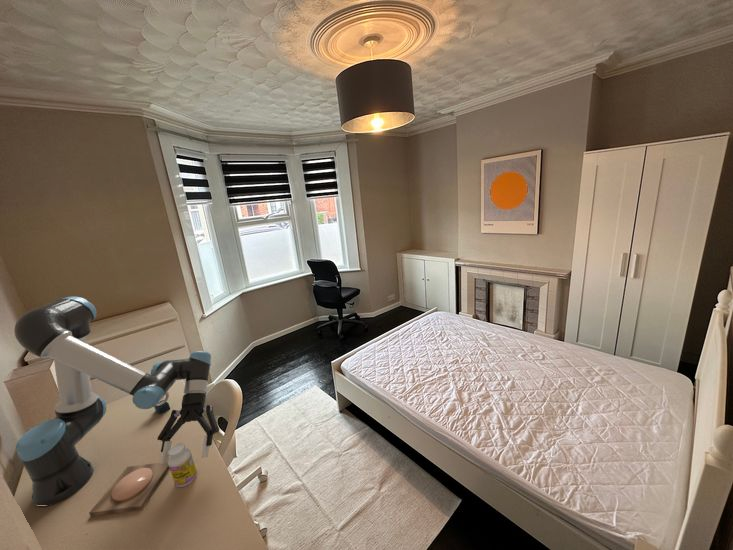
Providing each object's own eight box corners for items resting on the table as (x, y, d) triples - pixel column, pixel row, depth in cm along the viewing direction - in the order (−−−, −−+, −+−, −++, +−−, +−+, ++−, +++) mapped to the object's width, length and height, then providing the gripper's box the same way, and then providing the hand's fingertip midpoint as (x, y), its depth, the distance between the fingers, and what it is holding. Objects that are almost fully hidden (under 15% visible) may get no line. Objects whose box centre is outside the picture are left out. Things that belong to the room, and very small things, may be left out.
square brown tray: (90, 516, 91) (88, 512, 90) (128, 470, 106) (127, 466, 106) (142, 509, 91) (140, 505, 91) (172, 464, 107) (171, 461, 106)
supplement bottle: (172, 491, 96) (161, 460, 93) (179, 473, 102) (168, 444, 99) (194, 484, 98) (184, 453, 94) (200, 467, 104) (190, 438, 101)
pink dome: (103, 503, 93) (102, 501, 93) (129, 472, 104) (128, 470, 103) (138, 498, 93) (137, 496, 93) (160, 468, 104) (159, 465, 103)
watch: (174, 406, 139) (168, 386, 137) (155, 417, 133) (148, 396, 130) (170, 402, 143) (163, 383, 140) (151, 412, 137) (143, 392, 134)
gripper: (232, 390, 113) (226, 454, 102) (167, 399, 112) (154, 464, 102) (223, 387, 106) (216, 455, 96) (154, 397, 106) (139, 466, 95)
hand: (184, 460), depth 99 cm, fingers open, 13 cm apart
